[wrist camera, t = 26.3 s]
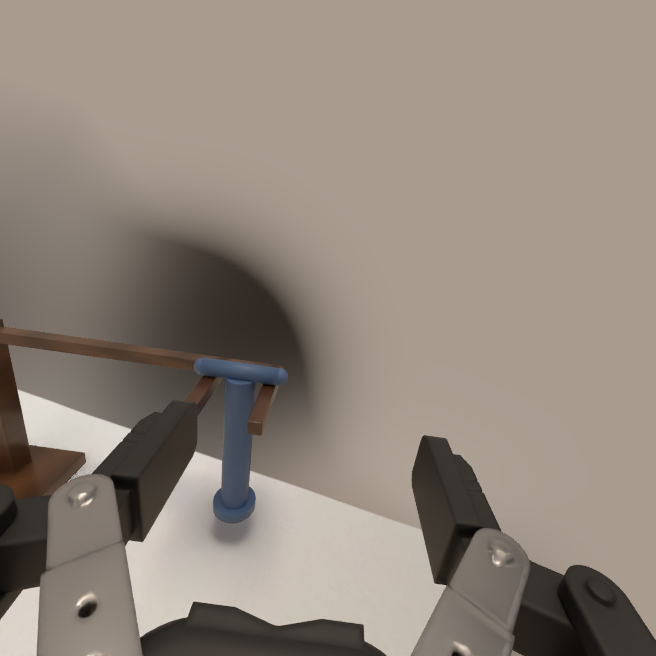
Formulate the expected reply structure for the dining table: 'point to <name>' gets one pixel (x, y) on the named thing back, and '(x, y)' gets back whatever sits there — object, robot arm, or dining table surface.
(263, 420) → the stand
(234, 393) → the peg
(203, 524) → the dining table surface
